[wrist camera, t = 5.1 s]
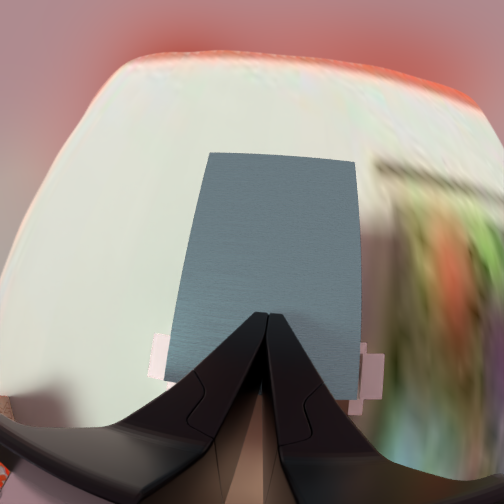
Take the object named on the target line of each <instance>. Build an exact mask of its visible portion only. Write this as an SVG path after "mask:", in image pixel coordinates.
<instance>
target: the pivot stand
mask: <svg viewBox="0 0 504 504" xmlns="http://www.w3.org/2000/svg"><path fill="white" fill-rule="evenodd" d="M169 342H170V335H164V334H158V333H154V338H153V344H152V350H151V356H150V363H149V369H148V376H147V377H151V378H155V379H160V380H164V374H165V368H166V361H167V355H168V348H169ZM384 357H385V354H372V353H367V342H361V343H360V363H359V379H358V392H357V400H349V408H348V415H362V410H363V400H370V399H382V391H383V376H384ZM175 384H176V383H174V382H168V383H167V390H168V389H170V388H171V387H172V386H174V385H175ZM167 390H166V391H167Z"/></svg>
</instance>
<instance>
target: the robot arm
mask: <svg viewBox="0 0 504 504" xmlns="http://www.w3.org/2000/svg"><path fill="white" fill-rule="evenodd" d="M261 380H262V444H263V504H504V474H494V475H490V476H487V477H484V478H481V479H477V480H471V481H459V480H452V479H447V478H443V477H440V476H436V475H432V474H429V473H425V472H422V471H419V470H415V469H412V468H409V467H406V466H403V465H400V464H397V463H394V462H392V461H390V460H388V459H387V458H385V457H384V456H382V455H381V454H380V453H379V452H378V451H377V450H376V449H375V448H374V447H373V446H372V444H371V443H370V442H369V441H368V440H367V439H366V437H365V436H364V435H363V434H362V433H361V431H360V430H359V429H358V428H357V427H356V426H355V424H354V423H353V422H352V421H351V420H350V418H349V417H348V416H347V415H346V413H345V412H344V411H343V410H342V408H341V407H340V406H339V404H338V403H337V401H336V400H335V398H334V397H333V395H332V394H331V392H330V391H329V389H328V387H327V386H326V384H325V383H324V381H323V379H322V378H321V376H320V374H319V373H318V371H317V370H316V368H315V366H314V365H313V363H312V361H311V360H310V358H309V356H308V355H307V353H306V351H305V350H304V348H303V347H302V345H301V343H300V342H299V340H298V338H297V337H296V335H295V333H294V332H293V330H292V328H291V327H290V325H289V323H288V322H287V320H286V318H285V317H284V315H283V314H279V313H270V314H268V313H266V312H254V313H253V314H252V315H251V316H250V317H249V318H248V319H246V320H245V321H244V322H243V323H242V324H241V325H240V326H239V327H238V328H237V329H236V330H235V331H234V332H233V333H232V334H231V335H229V336H228V337H227V338H226V339H225V340H224V341H223V342H222V343H221V344H220V345H219V346H218V347H217V348H215V349H214V350H213V351H212V352H211V353H210V354H209V355H208V356H207V357H206V358H205V359H203V360H202V361H201V362H200V363H199V364H198V365H197V366H196V367H195V368H194V369H193V370H191V371H190V372H189V373H188V374H187V375H186V376H184V377H183V378H182V379H181V380H180V381H178V382H177V383H176V384H175V385H174V386H172V387H171V388H170V389H168V390H167V391H165V392H164V393H163V394H161V395H160V396H158V397H157V398H155V399H154V400H152V401H151V402H149V403H148V404H146V405H145V406H143V407H142V408H140V409H139V410H137V411H135V412H134V413H132V414H131V415H129V416H128V417H126V418H124V419H123V420H121V421H119V422H117V423H115V424H112V425H109V426H104V427H90V428H48V427H33V426H27V425H23V424H20V423H17V422H15V421H13V420H11V419H9V418H8V417H6V416H4V415H3V414H1V413H0V462H1V463H2V464H3V465H4V466H5V467H6V468H7V469H8V470H9V471H10V473H9V475H8V477H7V479H6V480H5V482H4V484H3V485H2V487H1V489H0V504H225V501H226V498H227V495H228V492H229V489H230V486H231V483H232V480H233V477H234V474H235V470H236V467H237V464H238V461H239V458H240V454H241V451H242V448H243V444H244V441H245V438H246V434H247V431H248V428H249V424H250V421H251V417H252V414H253V411H254V407H255V404H256V400H257V397H258V393H259V389H260V385H261Z"/></svg>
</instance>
